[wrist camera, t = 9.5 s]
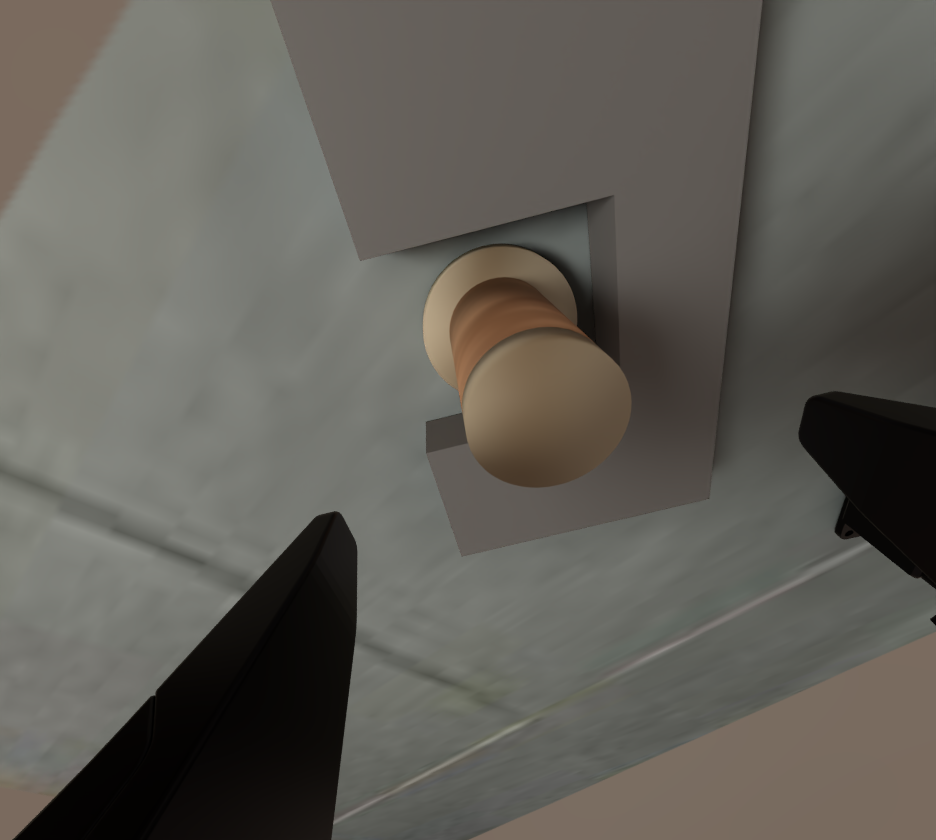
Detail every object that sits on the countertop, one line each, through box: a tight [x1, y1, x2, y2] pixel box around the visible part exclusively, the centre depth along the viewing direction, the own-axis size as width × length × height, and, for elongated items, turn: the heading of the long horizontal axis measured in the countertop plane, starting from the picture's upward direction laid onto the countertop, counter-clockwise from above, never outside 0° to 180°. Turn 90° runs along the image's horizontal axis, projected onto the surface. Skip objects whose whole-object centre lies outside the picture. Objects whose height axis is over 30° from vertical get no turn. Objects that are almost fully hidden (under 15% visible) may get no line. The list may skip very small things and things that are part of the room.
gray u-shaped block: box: [271, 0, 763, 556], centre depth 15 cm, size 12×20×2 cm, turn 13°
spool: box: [423, 244, 632, 488], centre depth 13 cm, size 6×6×8 cm
